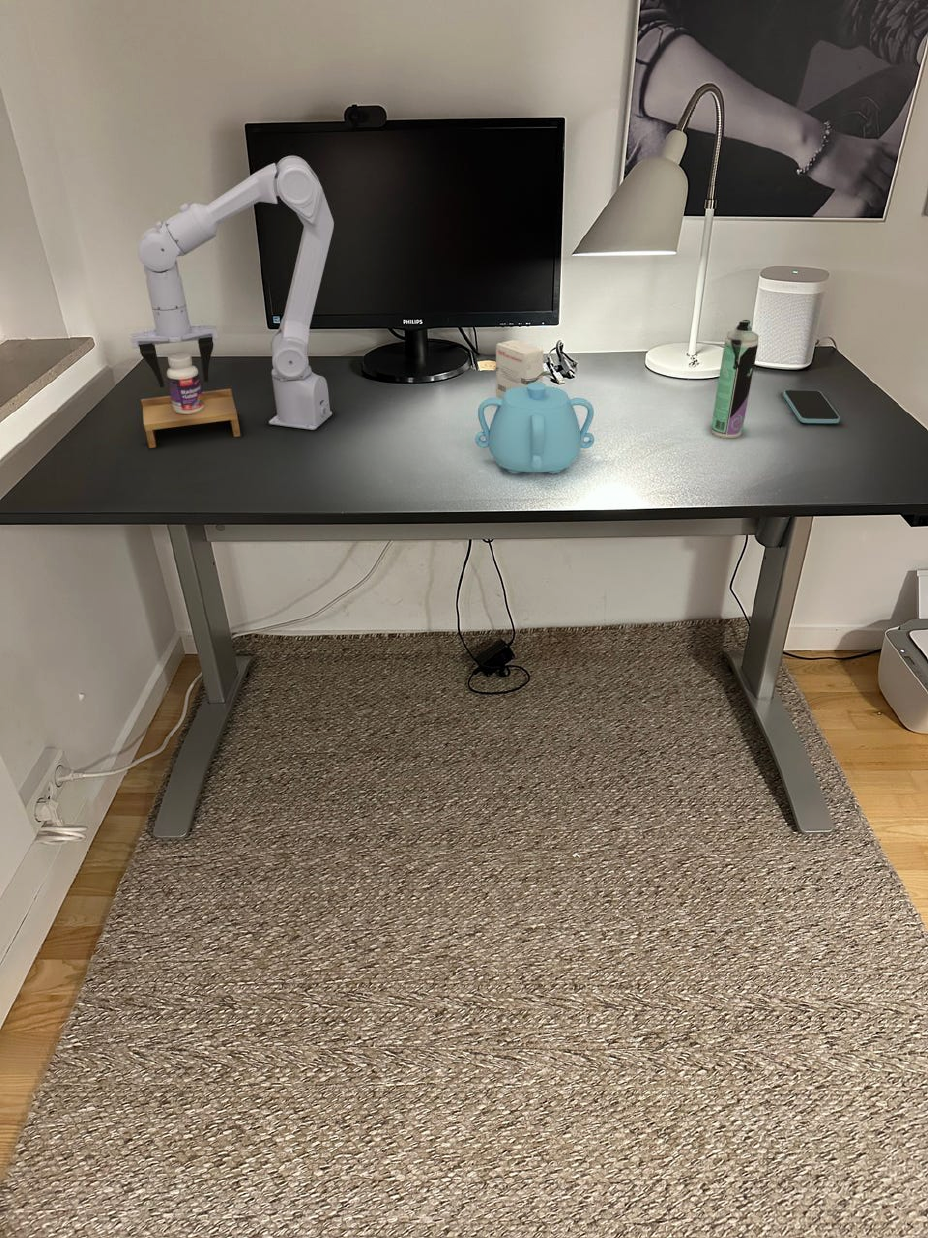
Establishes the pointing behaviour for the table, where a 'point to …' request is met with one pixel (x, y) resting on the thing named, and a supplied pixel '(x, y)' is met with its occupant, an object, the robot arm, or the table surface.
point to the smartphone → (811, 406)
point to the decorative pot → (535, 429)
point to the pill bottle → (184, 384)
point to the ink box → (517, 366)
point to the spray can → (734, 381)
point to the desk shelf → (163, 415)
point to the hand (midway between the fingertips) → (184, 382)
